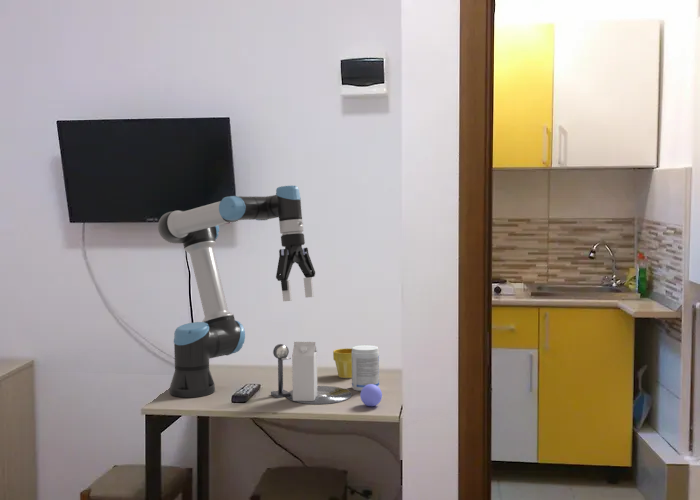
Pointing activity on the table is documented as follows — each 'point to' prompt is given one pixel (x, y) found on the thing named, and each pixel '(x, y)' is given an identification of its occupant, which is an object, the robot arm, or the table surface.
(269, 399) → the table surface
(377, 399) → the sphere
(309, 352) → the milk carton
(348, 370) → the plant pot
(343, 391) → the turntable
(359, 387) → the supplement tub
